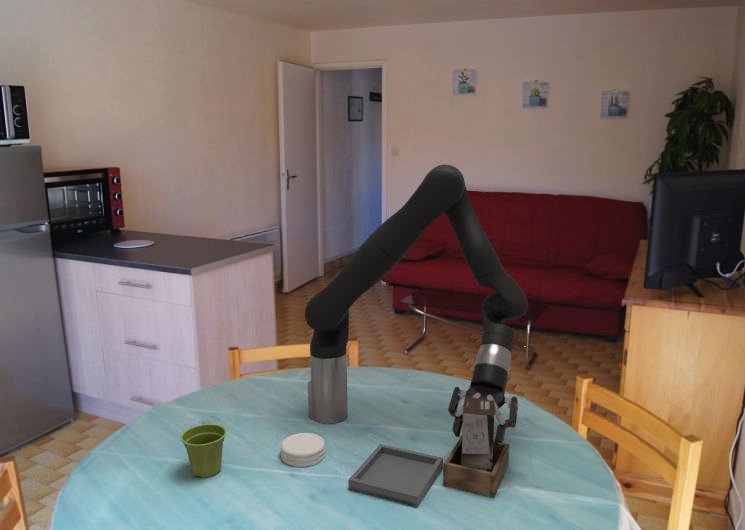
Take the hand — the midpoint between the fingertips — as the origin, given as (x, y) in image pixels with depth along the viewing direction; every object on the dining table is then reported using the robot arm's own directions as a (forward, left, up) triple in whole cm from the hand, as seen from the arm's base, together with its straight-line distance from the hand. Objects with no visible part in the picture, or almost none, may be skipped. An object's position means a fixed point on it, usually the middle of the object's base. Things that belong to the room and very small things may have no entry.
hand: (476, 440), depth 127 cm
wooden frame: (0, +1, -9) cm, 9 cm away
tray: (-15, -7, -9) cm, 19 cm away
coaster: (-38, -7, -9) cm, 40 cm away
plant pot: (-54, -21, -9) cm, 59 cm away
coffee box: (0, +1, -9) cm, 9 cm away
